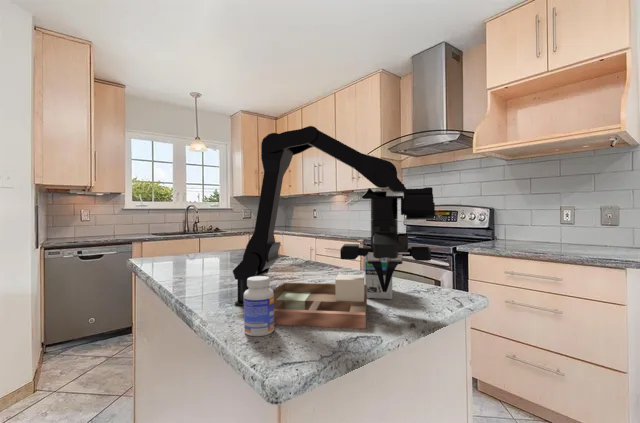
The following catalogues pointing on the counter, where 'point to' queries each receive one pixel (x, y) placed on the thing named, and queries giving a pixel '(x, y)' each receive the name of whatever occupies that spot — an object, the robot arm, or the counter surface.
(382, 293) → the light bulb box
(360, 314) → the tray
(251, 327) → the pill bottle
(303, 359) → the counter surface
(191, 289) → the counter surface
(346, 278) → the cream block
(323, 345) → the counter surface
